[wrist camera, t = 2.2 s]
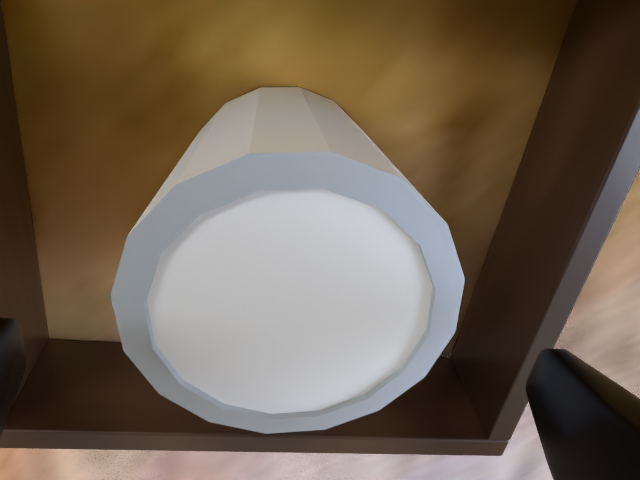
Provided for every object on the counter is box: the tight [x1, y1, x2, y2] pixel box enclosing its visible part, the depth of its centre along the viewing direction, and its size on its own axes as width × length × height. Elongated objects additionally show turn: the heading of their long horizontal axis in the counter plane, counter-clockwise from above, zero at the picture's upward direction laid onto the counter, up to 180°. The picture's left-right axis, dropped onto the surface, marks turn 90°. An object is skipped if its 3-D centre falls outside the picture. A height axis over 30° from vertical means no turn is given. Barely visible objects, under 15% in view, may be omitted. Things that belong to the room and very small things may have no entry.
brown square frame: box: [0, 0, 640, 456], centre depth 14 cm, size 17×16×4 cm
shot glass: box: [110, 87, 465, 434], centre depth 13 cm, size 7×7×7 cm
